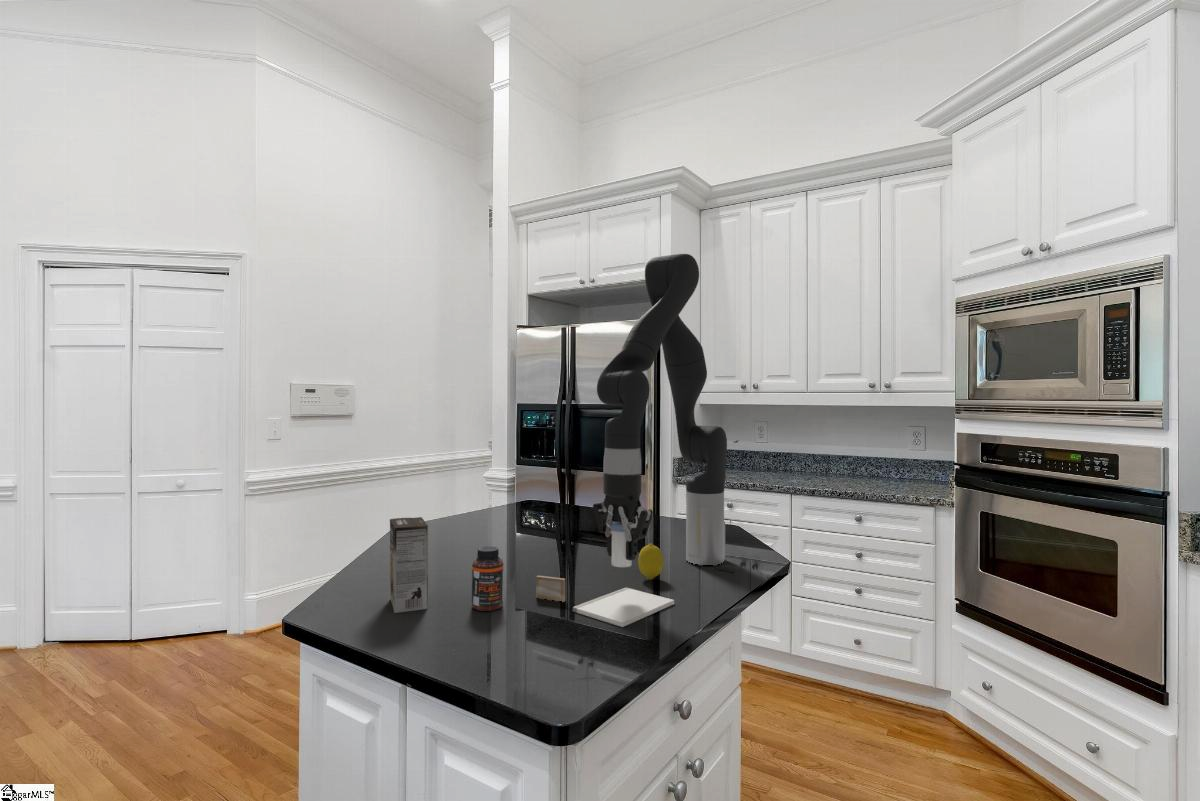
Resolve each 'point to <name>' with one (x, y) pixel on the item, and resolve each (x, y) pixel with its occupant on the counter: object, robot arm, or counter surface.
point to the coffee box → (408, 564)
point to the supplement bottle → (487, 580)
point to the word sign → (550, 588)
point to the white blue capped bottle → (619, 546)
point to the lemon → (650, 561)
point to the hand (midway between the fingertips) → (621, 557)
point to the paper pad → (623, 606)
